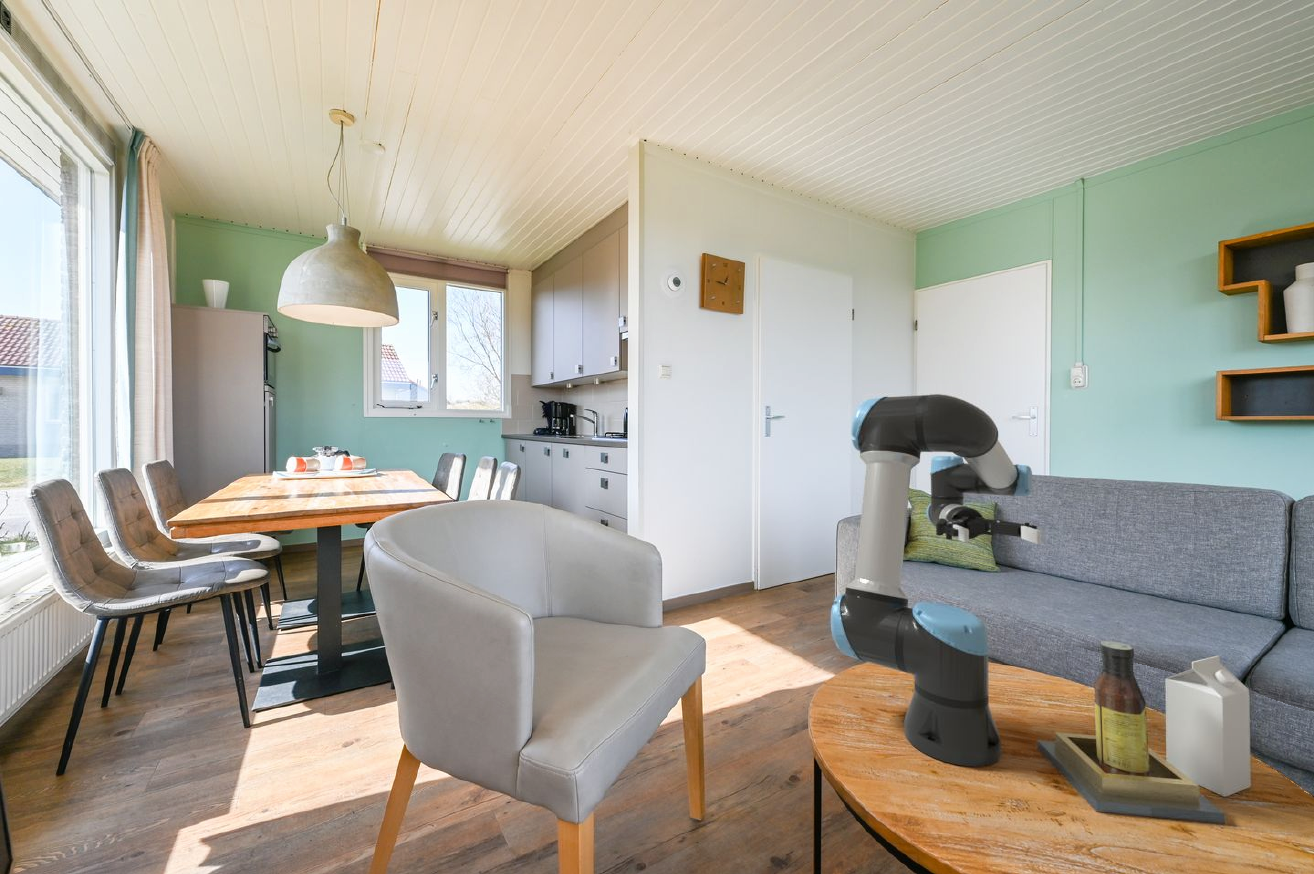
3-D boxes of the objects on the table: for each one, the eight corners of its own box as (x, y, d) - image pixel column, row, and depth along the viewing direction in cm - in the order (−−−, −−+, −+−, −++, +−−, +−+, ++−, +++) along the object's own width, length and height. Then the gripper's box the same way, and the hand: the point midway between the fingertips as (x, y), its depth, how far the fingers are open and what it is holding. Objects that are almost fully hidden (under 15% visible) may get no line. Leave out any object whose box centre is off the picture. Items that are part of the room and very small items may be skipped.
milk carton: (1166, 771, 87) (1164, 653, 87) (1192, 761, 89) (1190, 647, 89) (1224, 798, 80) (1222, 671, 80) (1251, 787, 83) (1249, 664, 83)
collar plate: (1096, 811, 78) (1096, 783, 78) (1037, 748, 93) (1037, 725, 93) (1225, 824, 75) (1224, 795, 75) (1141, 757, 91) (1141, 733, 91)
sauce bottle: (1160, 786, 81) (1159, 654, 81) (1118, 786, 81) (1117, 654, 81) (1123, 760, 87) (1122, 638, 87) (1085, 760, 87) (1083, 638, 88)
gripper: (1018, 538, 129) (1070, 556, 108) (907, 535, 133) (937, 553, 112) (1017, 506, 129) (1070, 519, 108) (907, 505, 133) (937, 517, 112)
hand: (1002, 536), depth 110 cm, fingers open, 13 cm apart
